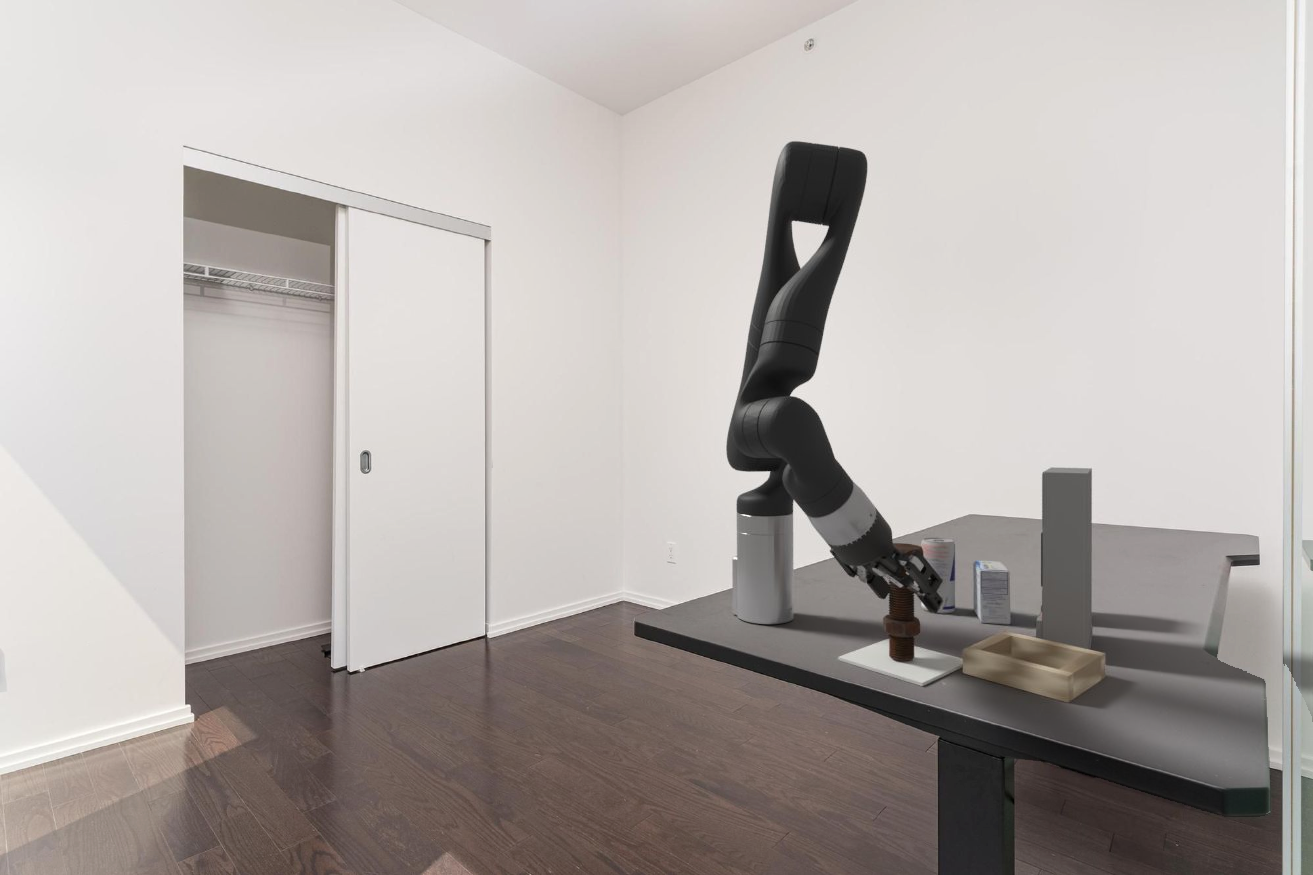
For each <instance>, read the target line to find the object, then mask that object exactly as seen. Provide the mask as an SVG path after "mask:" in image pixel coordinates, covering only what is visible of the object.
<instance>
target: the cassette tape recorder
mask: <svg viewBox="0 0 1313 875" xmlns="http://www.w3.org/2000/svg"><path fill="white" fill-rule="evenodd" d="M1092 470H1093V468H1092V467H1091V468H1087V467H1082V468H1081V467H1049V468H1048V469H1046V470H1044V471H1042V474H1041V497H1042V498H1041V521H1042V522H1041V530H1042V532H1041V533H1040V536H1041V537H1040V587H1041V588H1042V589H1041V606H1040V613H1039V614H1038V616H1037V618H1036V620H1035V621H1036V622H1035V627H1036V628H1035V638H1039V639H1043V640H1048V641H1053V642H1057V643H1062V644H1066V645H1071V646H1075V647H1080V648H1084V649H1089V650H1091V646H1092V642H1093V641H1092V640H1093V631H1094V630H1093V629H1094V628H1093V626H1092V623H1093V622H1092V619H1093V618H1092V616H1093V615H1092V613H1093V612H1092V611H1093V610H1092V606H1093V604H1092V598H1093V596H1092V595H1093V594H1092V592H1093V590H1092V586H1093V584H1092V583H1093V581H1092V580H1093V578H1092V576H1093V574H1092V573H1093V572H1092V566H1093V564H1092V563H1093V562H1092V559H1093V558H1092V557H1093V556H1092V553H1093V552H1092V548H1093V543H1092V542H1093V539H1092V537H1093V536H1092V535H1093V534H1092V531H1093V529H1092V527H1093V526H1092V525H1093V524H1092V523H1093V522H1092V518H1093V517H1092V514H1093V513H1092V511H1093V509H1092V508H1093V505H1092V504H1093V499H1092V498H1093V497H1092V496H1093V491H1092V490H1093V485H1092V484H1093V483H1092V482H1093V471H1092Z"/></svg>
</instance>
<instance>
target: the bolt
mask: <svg viewBox="0 0 1313 875" xmlns="http://www.w3.org/2000/svg"><path fill="white" fill-rule="evenodd" d="M893 545H894V546H895V547H896V548H897V549H899V550H900V551H901V552H902V553H903V554H904V555H908V556H911V554H912V553H913V551H918V552H920V553H921V554H922V555H923V549H922V547H921V545H917V544H912V543H898V542H893ZM923 556H924V555H923ZM905 574H906V570H905V569H904V566H903V568H902V570H901V571H900V573H899V575H898V576H897V577H898V578H900V579H903V577H904V575H905ZM911 582H912V583H913V584H914V585H915V581H914V580H913V578H912V579H911ZM888 584H889V586H890V587H889V591H890V592H889V594H888V614H885V615H884V616H883V619H882V620H883V621H882V622H883V625H882V626H883V630H884V632H885V633H886V634H887V635H888V639H890V640H889V641H890V642H889V644H890V645H889V649H890V650H889V656H890V657H891V658H892V659H893V660H895V661H911V660H913V658H914V657H915V656H914V655H915V654H914V646H915V637H917V636H919V635H920V634H921V621H920V618H918V617H916V616H915V593H913V592H912V591H910V590H909V589H908V588H906V587H905V588H900V587H898V586H897V585H896V584H894V583H893V582H891V581H890V580H889V579H888Z"/></svg>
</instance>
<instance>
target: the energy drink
mask: <svg viewBox="0 0 1313 875" xmlns="http://www.w3.org/2000/svg"><path fill="white" fill-rule="evenodd" d="M920 546H921V547H922V549H923V555H924V558H925V559H926V560H927V561H928V563H929V564H930V565H931V566H932V568H933V569H934V570H935V571H936V573H937V574H938V575H939V576H940V578H941V579H942V580H943V582H942V583H941V585H940V587H939V589H938V590H937V593H938V594H939V595H940V597H941V598H942V599H943V603H942V605H941V606H940V608H939V610H938V612H937V613H936V614H943V615H944V614H945V615H946V614H952V613H954V611H955V610H956V544H955V541H954V539H951V538H946V537H924V538H922V541H921V543H920ZM929 578H930V577H929ZM920 603H921V604H920V606H921V608H922V609H923V610H924V611H925V612H929V611H928V609H927V608H926V607H925V605H924V604H923V603H922V602H921V601H920ZM929 613H930V612H929Z"/></svg>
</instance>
